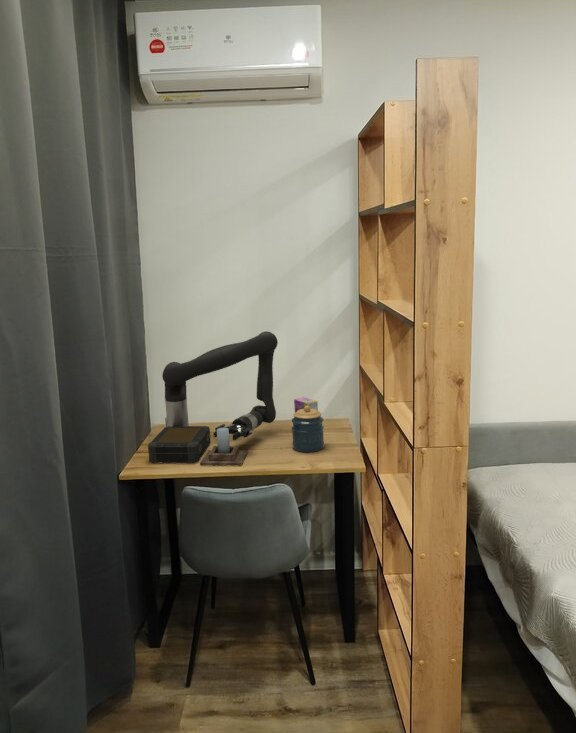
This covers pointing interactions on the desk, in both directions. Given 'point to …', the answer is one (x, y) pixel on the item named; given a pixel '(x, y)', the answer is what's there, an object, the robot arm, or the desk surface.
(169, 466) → the desk surface
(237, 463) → the holder
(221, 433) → the cylinder
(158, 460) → the cash box
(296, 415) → the canister
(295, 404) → the box
